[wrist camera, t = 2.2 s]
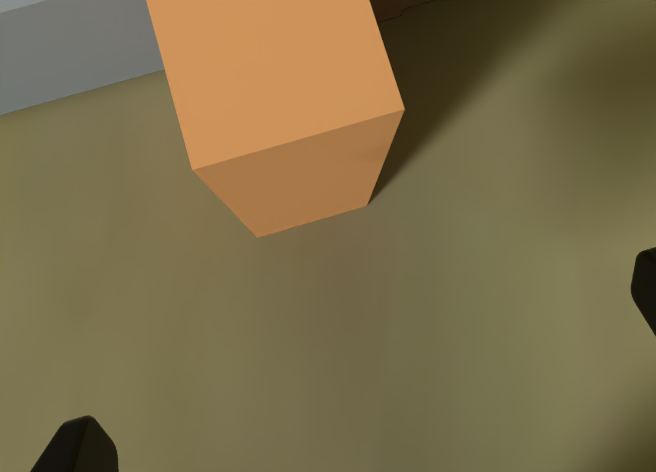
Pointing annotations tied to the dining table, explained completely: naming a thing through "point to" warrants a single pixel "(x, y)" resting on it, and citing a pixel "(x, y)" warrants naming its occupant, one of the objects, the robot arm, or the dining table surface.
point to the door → (71, 48)
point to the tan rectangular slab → (280, 103)
